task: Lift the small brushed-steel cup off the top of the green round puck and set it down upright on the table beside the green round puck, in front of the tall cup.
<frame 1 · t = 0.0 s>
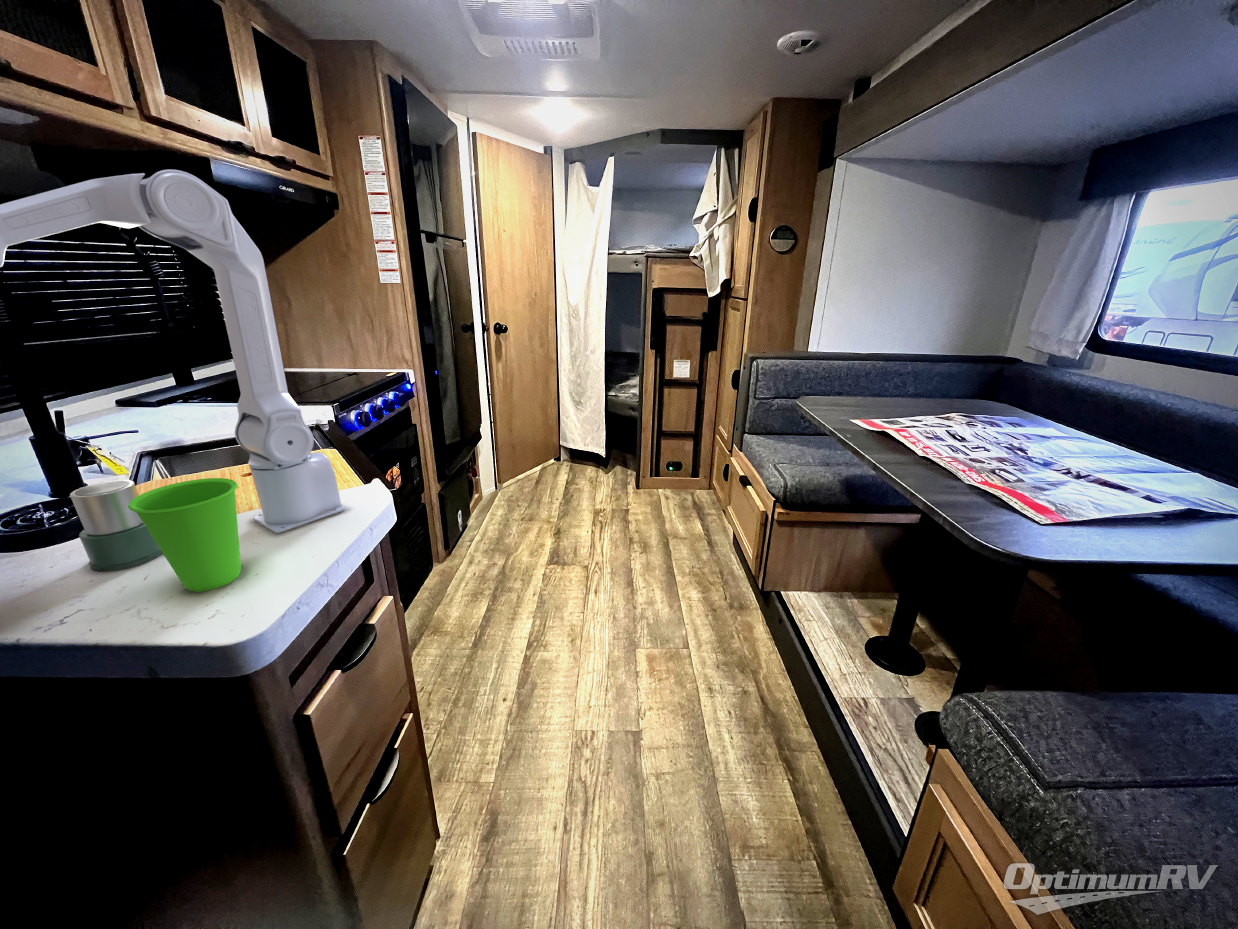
cup: (214, 580, 56), on the countertop
steel cup: (117, 525, 59), point 4 cm above the countertop, touching green round puck
green round puck: (130, 556, 60), on the countertop
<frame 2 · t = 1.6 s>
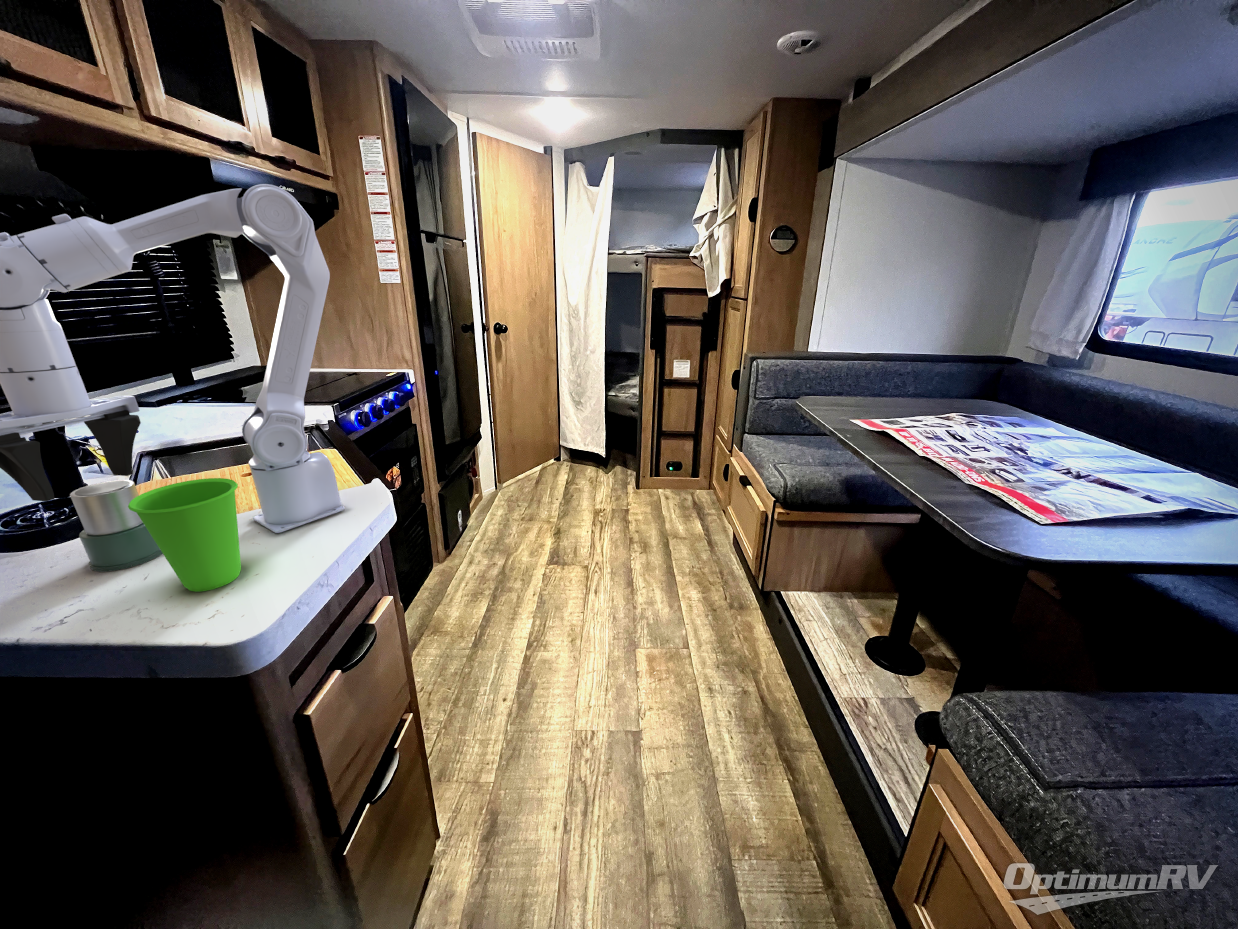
hand: (86, 486, 55), 10 cm above the countertop, tool pointing down, fingers open, 7 cm apart
nothing on the countertop moved.
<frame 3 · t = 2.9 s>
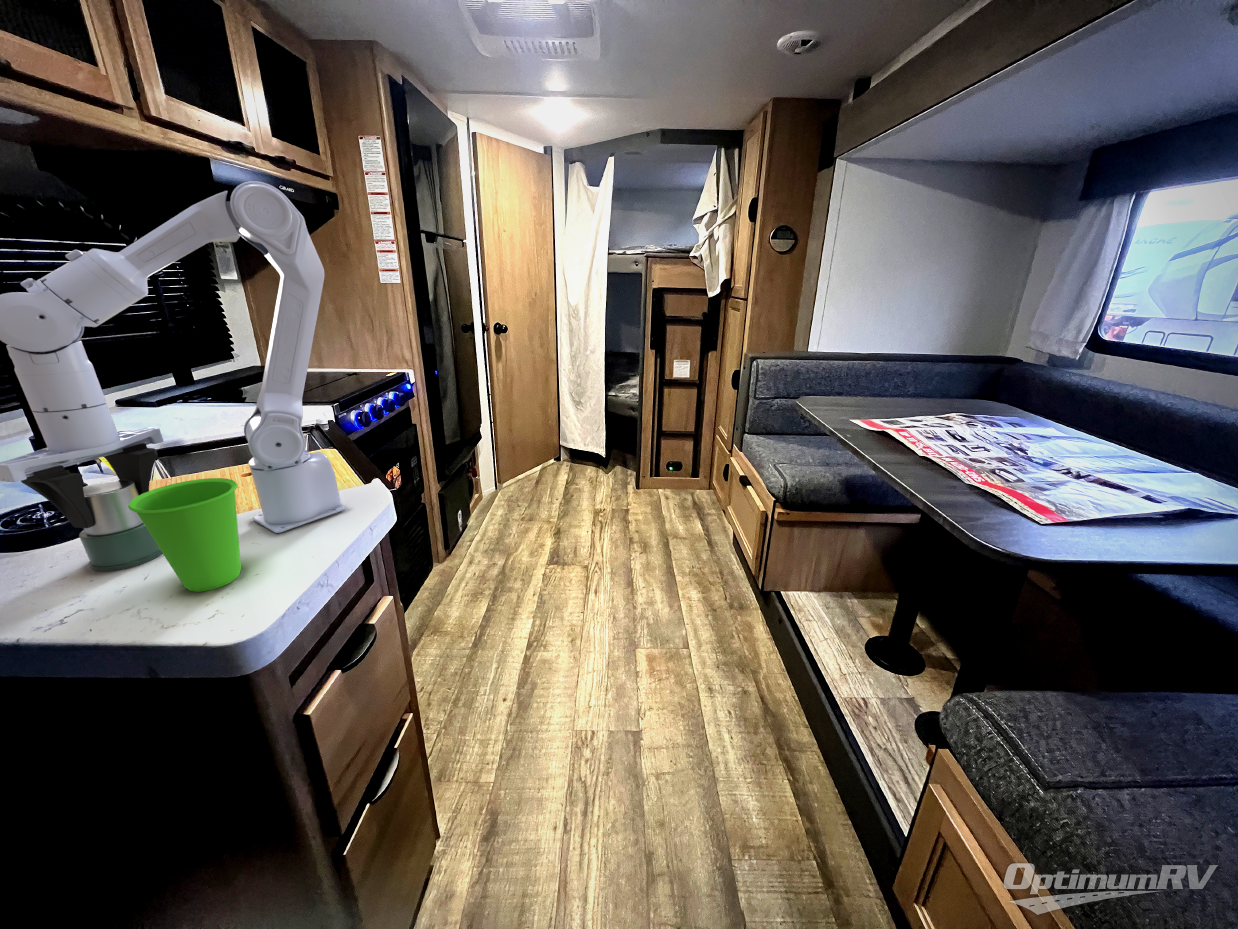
hand: (113, 515, 58), 6 cm above the countertop, tool pointing down, fingers closed on steel cup, 5 cm apart
steel cup: (117, 525, 59), point 4 cm above the countertop, touching green round puck, gripper
everything else where it was.
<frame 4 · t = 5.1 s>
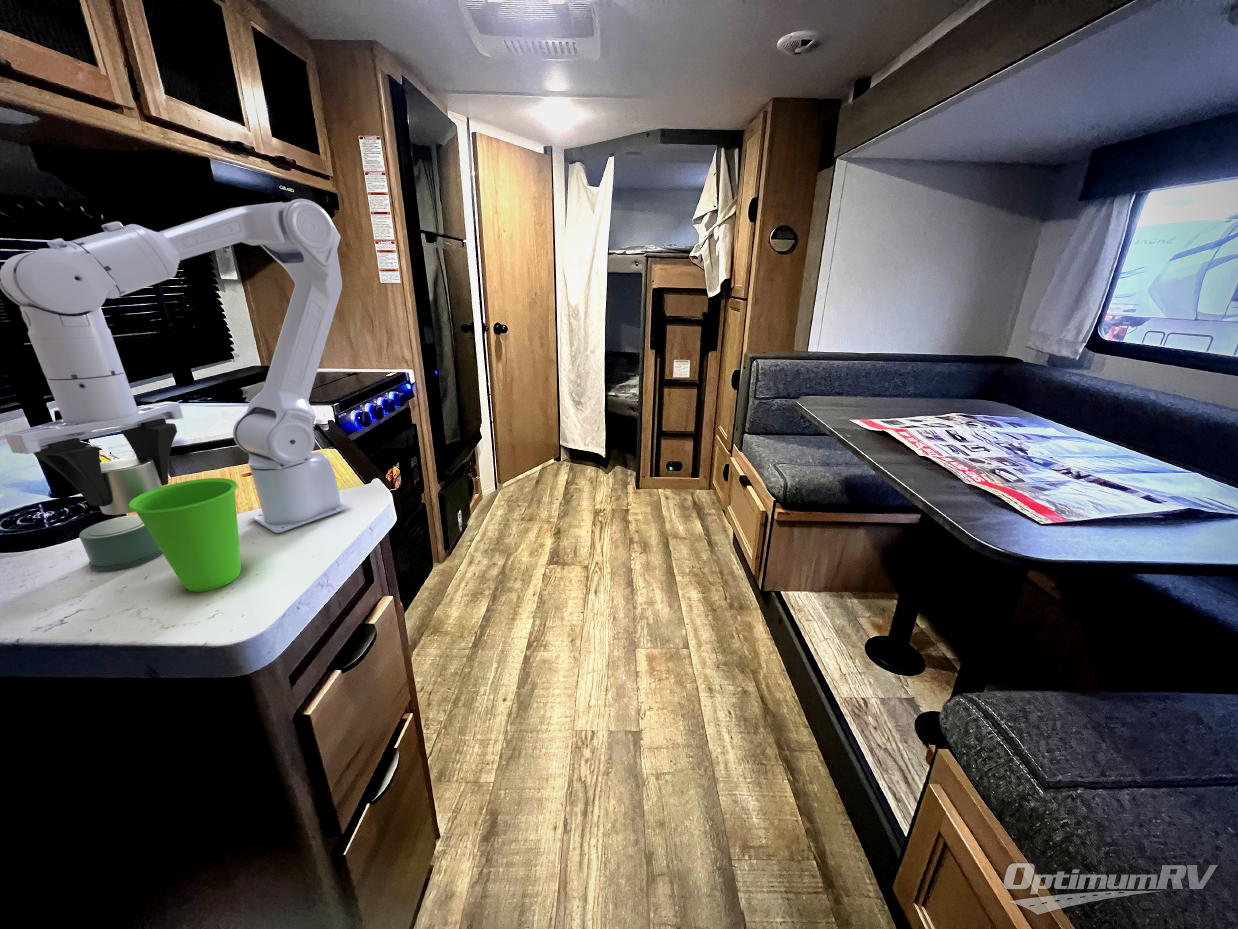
hand: (131, 493, 55), 10 cm above the countertop, tool pointing down, fingers closed on steel cup, 5 cm apart
steel cup: (135, 504, 55), point 8 cm above the countertop, touching gripper
everything else where it was.
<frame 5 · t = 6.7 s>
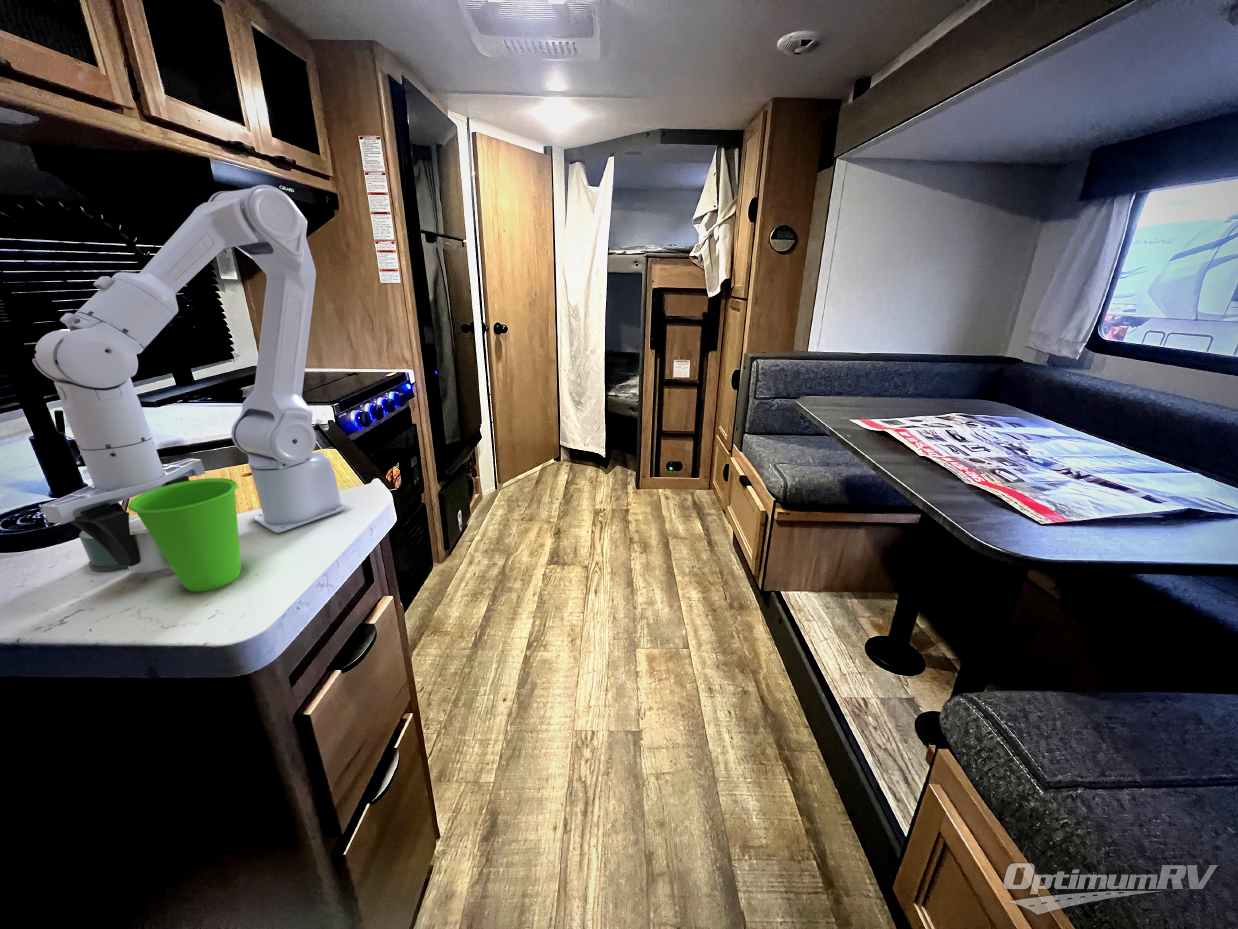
hand: (157, 550, 57), 2 cm above the countertop, tool pointing down, fingers closed on steel cup, 5 cm apart
steel cup: (160, 560, 57), point 1 cm above the countertop, touching gripper
everything else where it was.
when the fingers open (1 cm above the countertop, at t = 7.6 s): steel cup stays where it is, on the countertop.
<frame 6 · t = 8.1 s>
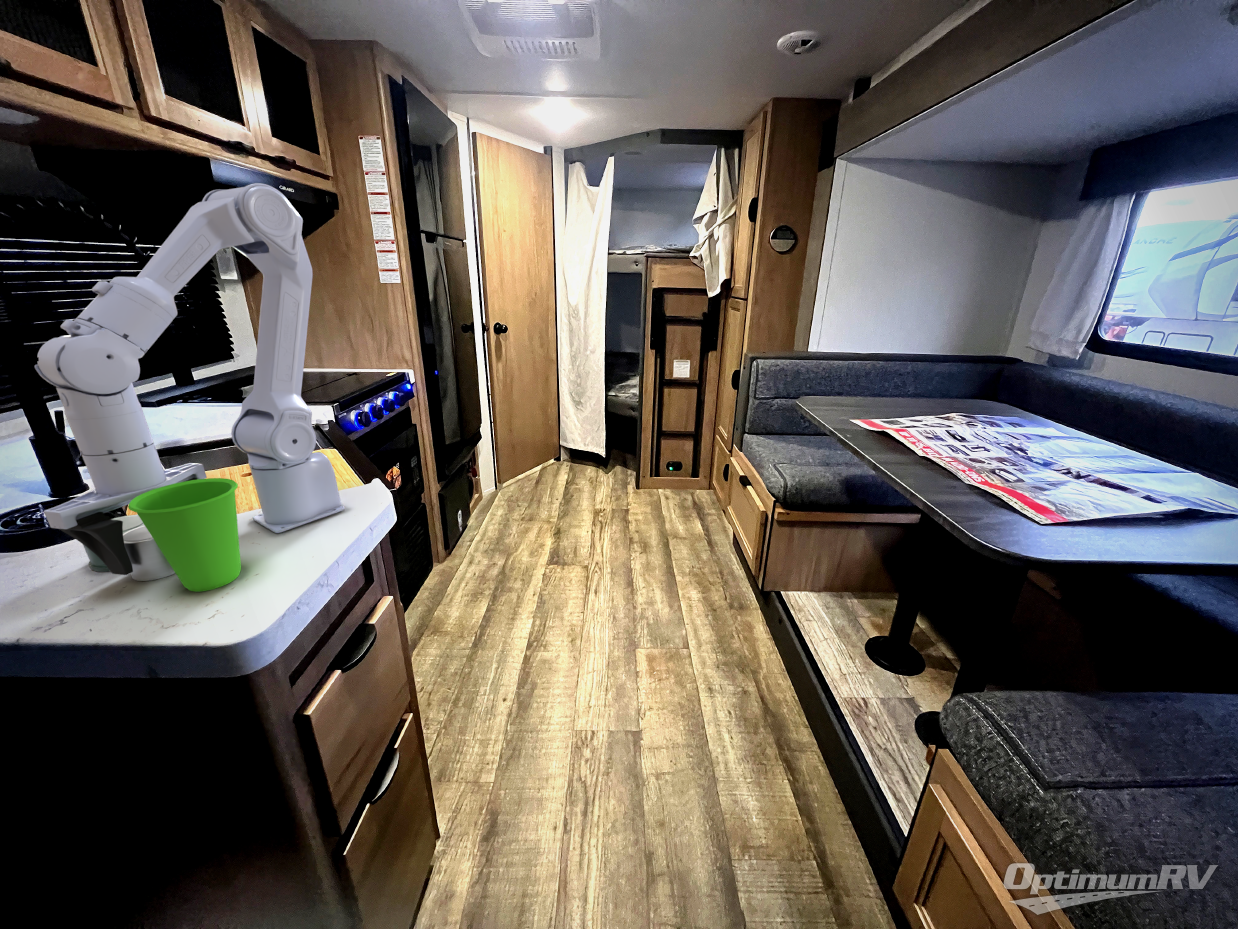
hand: (159, 555, 57), 2 cm above the countertop, tool pointing down, fingers open, 7 cm apart
steel cup: (163, 568, 58), on the countertop
everything else where it was.
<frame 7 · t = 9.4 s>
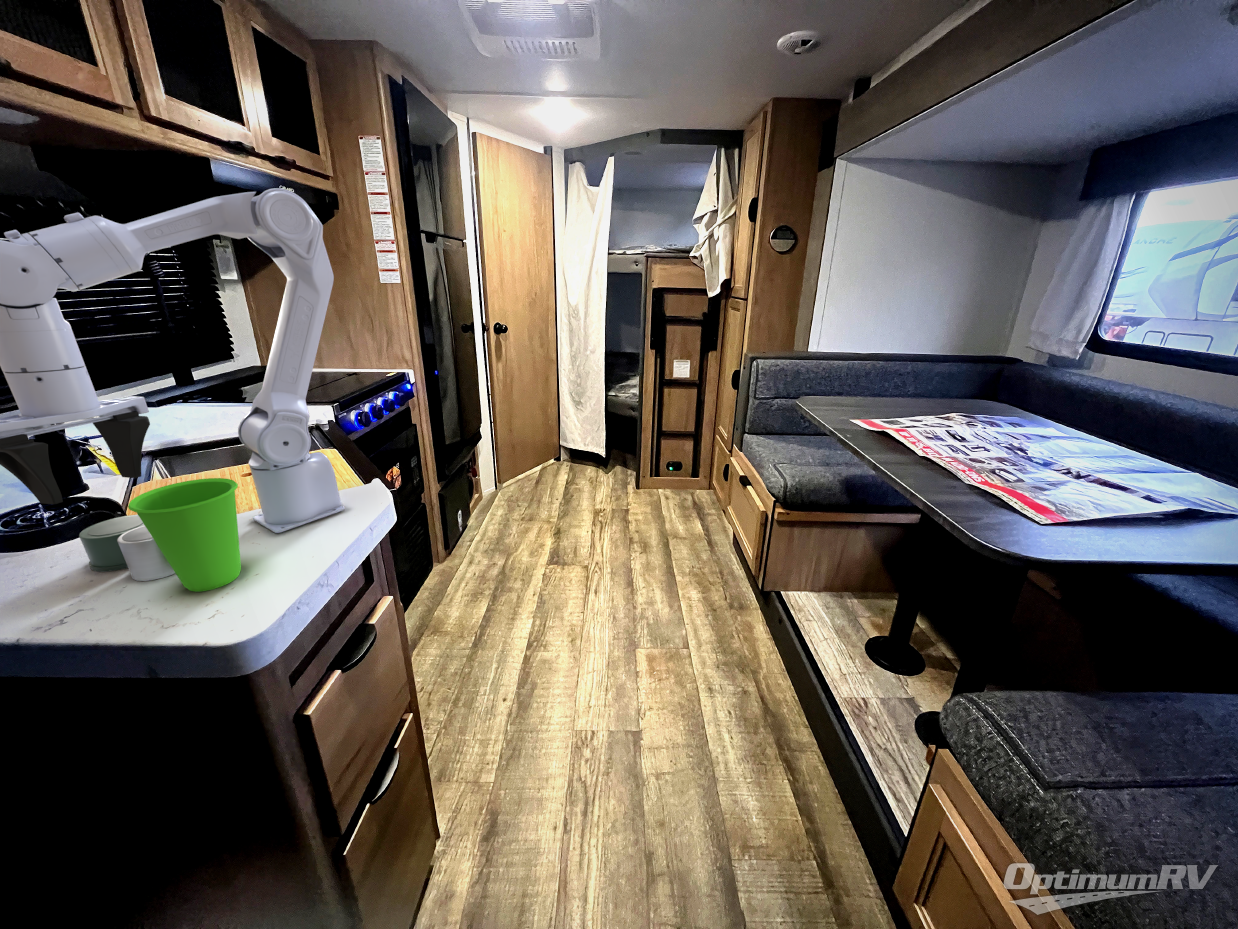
hand: (94, 488, 54), 10 cm above the countertop, tool pointing down, fingers open, 7 cm apart
nothing on the countertop moved.
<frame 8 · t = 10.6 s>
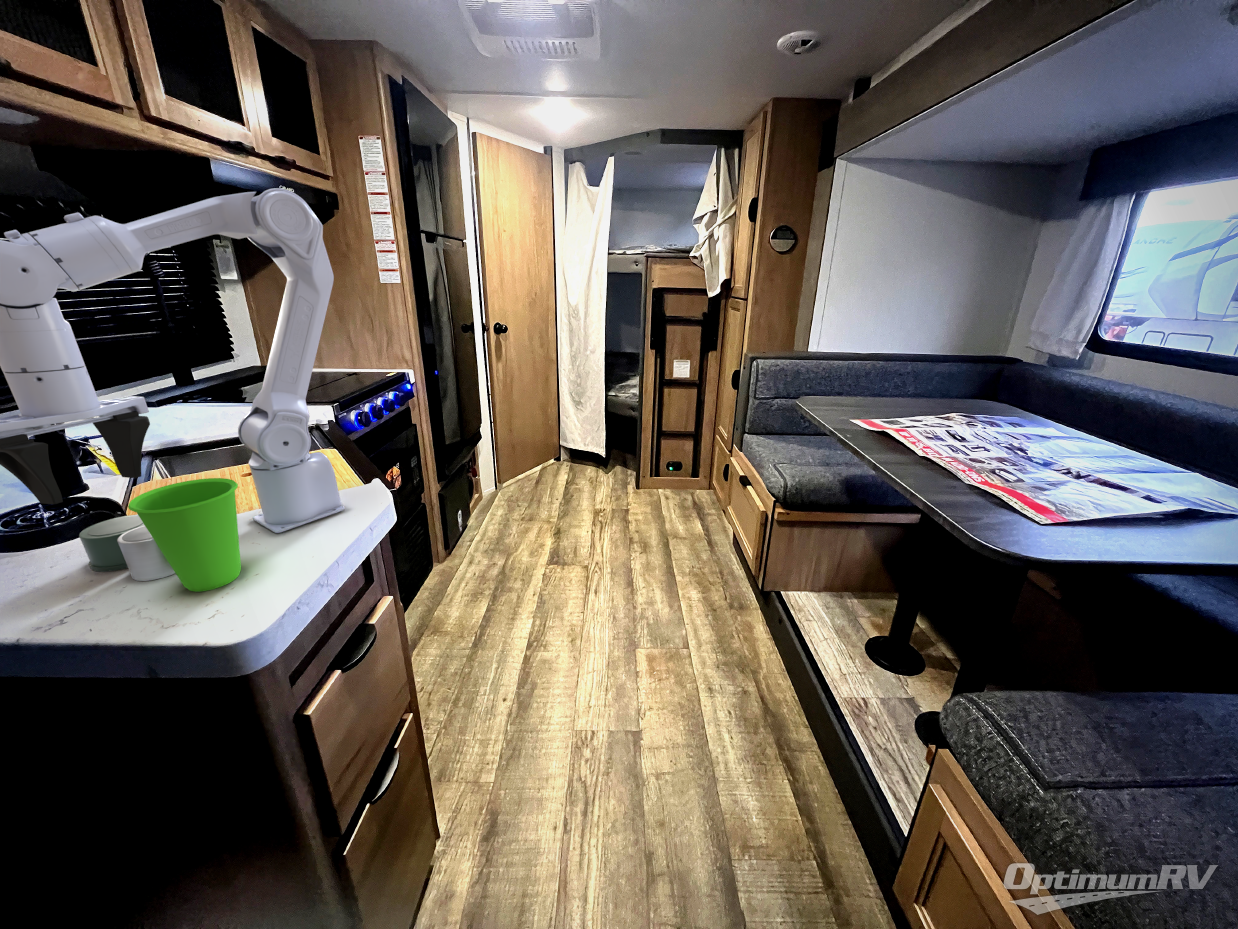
hand: (94, 488, 54), 10 cm above the countertop, tool pointing down, fingers open, 7 cm apart
nothing on the countertop moved.
at the end: steel cup 0.1 cm from the target spot, on the countertop; steel cup tilted 0° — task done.
